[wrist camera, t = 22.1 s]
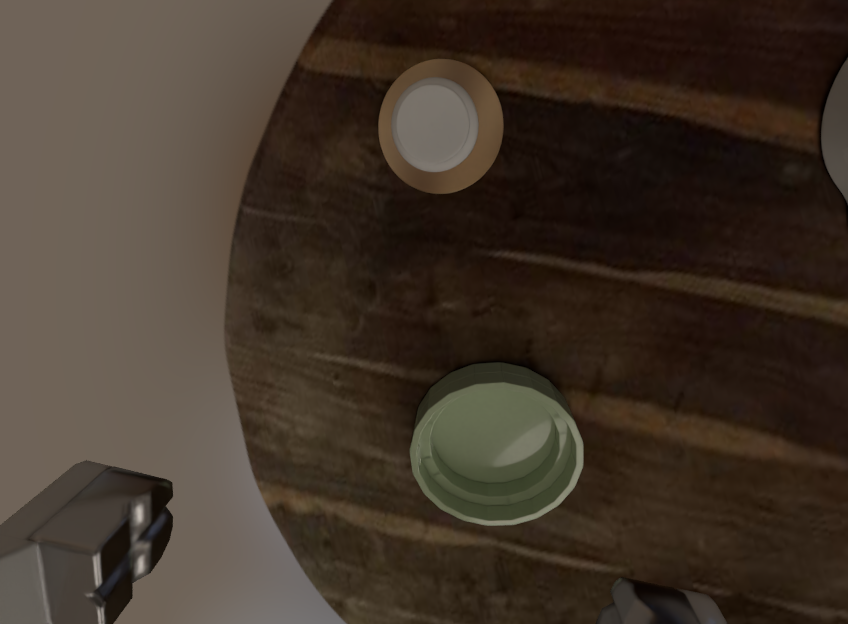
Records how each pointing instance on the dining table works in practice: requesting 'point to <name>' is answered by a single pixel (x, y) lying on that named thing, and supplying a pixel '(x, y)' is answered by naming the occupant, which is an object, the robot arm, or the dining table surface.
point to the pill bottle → (434, 124)
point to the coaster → (487, 131)
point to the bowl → (495, 445)
